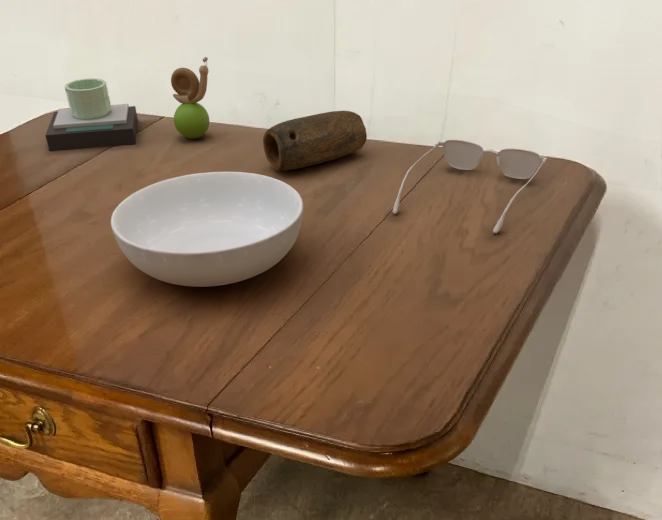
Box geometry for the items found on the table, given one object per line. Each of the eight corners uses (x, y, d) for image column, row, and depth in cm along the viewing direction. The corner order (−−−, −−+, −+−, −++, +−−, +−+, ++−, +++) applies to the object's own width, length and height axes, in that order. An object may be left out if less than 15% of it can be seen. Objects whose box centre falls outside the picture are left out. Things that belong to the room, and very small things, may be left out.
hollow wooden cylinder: (290, 182, 106) (287, 134, 102) (260, 168, 110) (257, 121, 106) (371, 155, 113) (372, 108, 109) (341, 143, 117) (340, 97, 113)
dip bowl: (69, 121, 119) (62, 91, 116) (73, 109, 124) (67, 79, 121) (110, 118, 120) (104, 88, 117) (113, 106, 124) (107, 77, 122)
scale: (49, 150, 118) (44, 131, 116) (57, 126, 126) (53, 108, 124) (135, 143, 119) (131, 124, 117) (137, 120, 128) (134, 102, 126)
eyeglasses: (544, 182, 104) (548, 152, 102) (503, 237, 92) (507, 205, 89) (437, 164, 110) (438, 136, 107) (385, 214, 97) (386, 183, 95)
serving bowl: (192, 211, 99) (185, 159, 95) (337, 243, 91) (336, 188, 87) (82, 285, 85) (67, 227, 81) (242, 330, 77) (235, 269, 73)
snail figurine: (210, 145, 118) (200, 62, 110) (171, 142, 119) (158, 60, 112) (222, 133, 122) (213, 52, 114) (184, 130, 123) (173, 50, 116)
